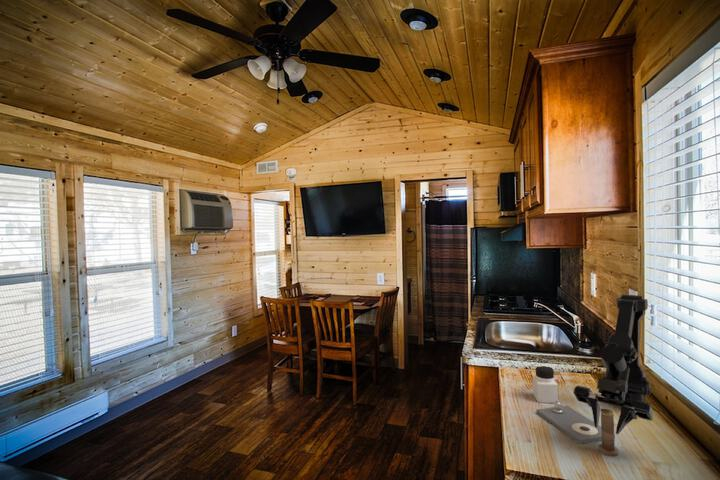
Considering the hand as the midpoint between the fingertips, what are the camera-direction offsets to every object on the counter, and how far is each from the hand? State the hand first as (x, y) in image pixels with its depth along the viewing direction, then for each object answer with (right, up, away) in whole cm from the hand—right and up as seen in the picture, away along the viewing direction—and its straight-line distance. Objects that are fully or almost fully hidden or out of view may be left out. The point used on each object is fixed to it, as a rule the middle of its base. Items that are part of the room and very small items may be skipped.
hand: (606, 430), depth 106 cm
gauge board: (0, -6, +16) cm, 17 cm away
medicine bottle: (0, -6, +35) cm, 36 cm away
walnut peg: (+1, -7, +1) cm, 7 cm away
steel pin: (-2, -5, +23) cm, 23 cm away
